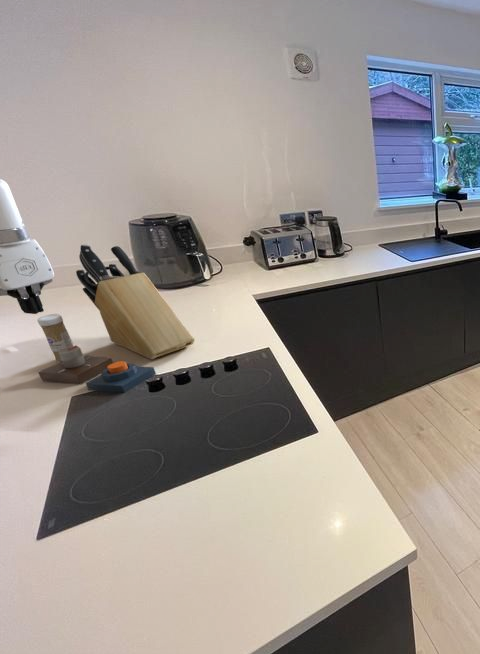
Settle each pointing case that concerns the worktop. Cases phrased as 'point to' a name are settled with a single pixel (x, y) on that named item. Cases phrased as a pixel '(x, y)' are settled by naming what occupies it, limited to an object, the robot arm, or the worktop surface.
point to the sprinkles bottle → (55, 333)
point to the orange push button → (117, 367)
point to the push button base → (121, 379)
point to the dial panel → (76, 371)
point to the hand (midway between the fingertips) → (34, 312)
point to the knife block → (132, 306)
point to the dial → (72, 357)
